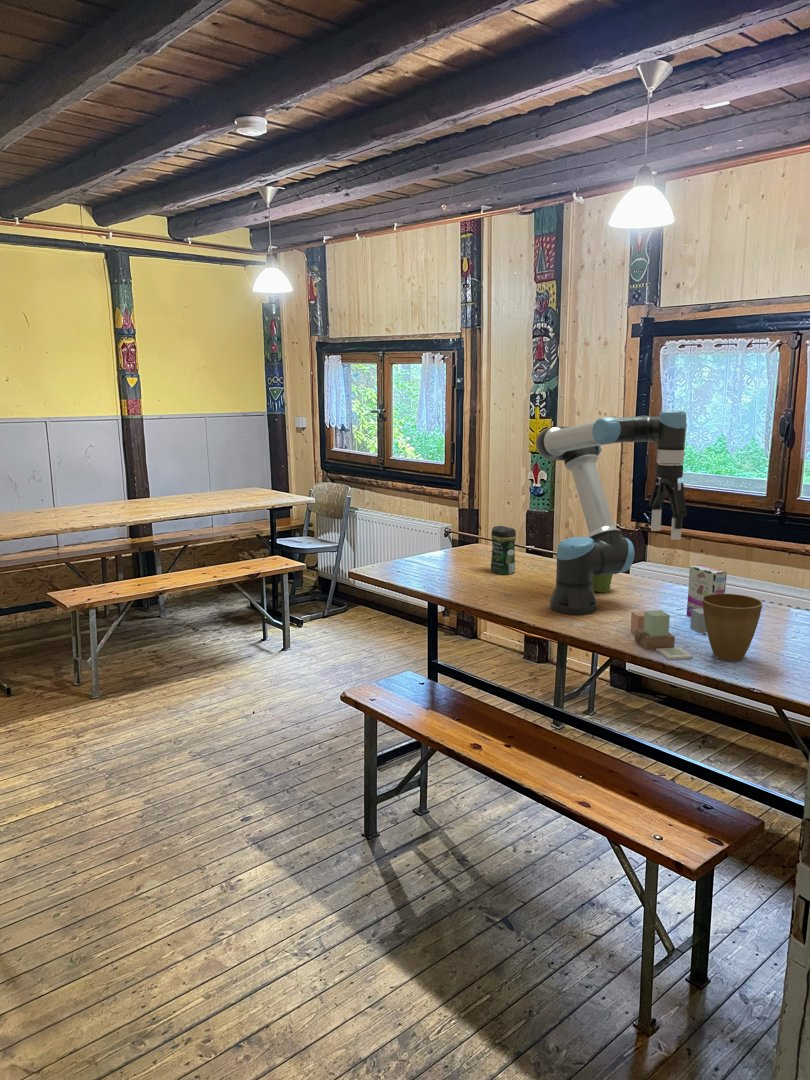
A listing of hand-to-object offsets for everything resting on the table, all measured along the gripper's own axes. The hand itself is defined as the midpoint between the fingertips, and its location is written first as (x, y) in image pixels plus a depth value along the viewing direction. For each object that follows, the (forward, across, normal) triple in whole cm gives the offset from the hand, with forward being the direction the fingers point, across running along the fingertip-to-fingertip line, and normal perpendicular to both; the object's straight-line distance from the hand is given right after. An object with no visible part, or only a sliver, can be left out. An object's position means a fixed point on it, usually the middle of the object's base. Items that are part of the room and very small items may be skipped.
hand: (665, 535), depth 225 cm
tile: (+28, -24, +6) cm, 38 cm away
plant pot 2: (+29, -27, -7) cm, 40 cm away
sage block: (+25, -16, +9) cm, 31 cm away
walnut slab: (+29, -16, +9) cm, 34 cm away
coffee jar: (+29, +74, +32) cm, 85 cm away
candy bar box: (+29, +5, -17) cm, 34 cm away
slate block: (+29, -5, -11) cm, 31 cm away
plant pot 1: (+29, +43, +3) cm, 52 cm away
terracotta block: (+29, -5, +8) cm, 30 cm away
